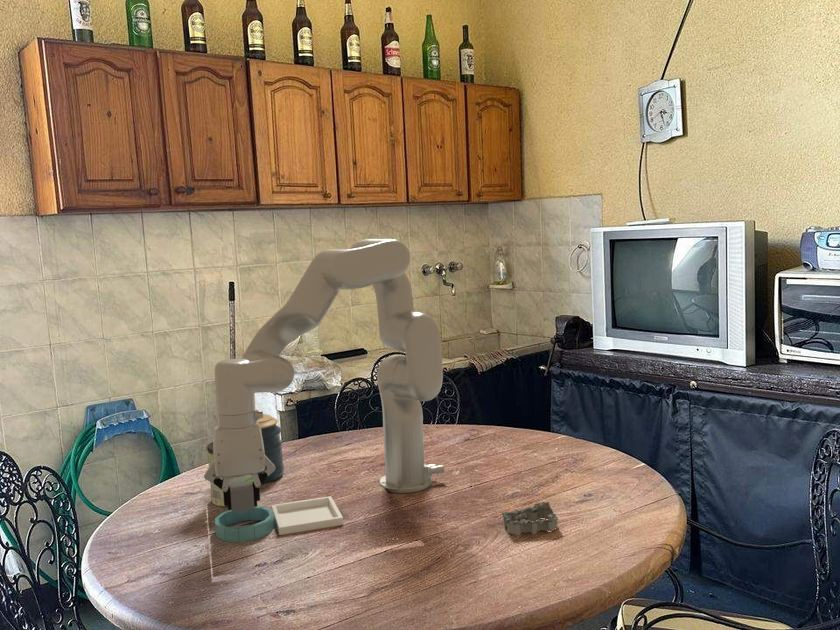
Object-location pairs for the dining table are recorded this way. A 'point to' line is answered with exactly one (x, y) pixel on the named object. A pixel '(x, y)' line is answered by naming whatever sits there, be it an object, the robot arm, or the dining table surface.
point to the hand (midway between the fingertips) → (242, 505)
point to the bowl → (246, 531)
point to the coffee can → (216, 491)
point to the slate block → (242, 496)
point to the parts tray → (306, 515)
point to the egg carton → (530, 519)
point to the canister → (272, 445)
